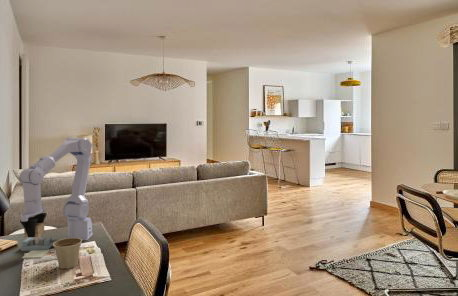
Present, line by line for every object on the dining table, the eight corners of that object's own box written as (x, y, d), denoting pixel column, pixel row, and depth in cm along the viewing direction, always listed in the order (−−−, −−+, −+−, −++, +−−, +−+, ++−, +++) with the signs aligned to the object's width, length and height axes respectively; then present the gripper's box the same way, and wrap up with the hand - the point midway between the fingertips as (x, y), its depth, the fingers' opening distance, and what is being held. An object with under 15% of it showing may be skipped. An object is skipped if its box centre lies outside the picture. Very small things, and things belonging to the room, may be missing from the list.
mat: (49, 250, 139) (49, 249, 139) (41, 257, 132) (41, 256, 132) (31, 251, 139) (31, 250, 139) (22, 258, 132) (22, 257, 132)
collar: (44, 232, 137) (43, 222, 137) (38, 237, 132) (37, 226, 132) (31, 233, 137) (30, 223, 137) (24, 237, 132) (23, 227, 132)
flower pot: (89, 262, 127) (87, 238, 127) (69, 272, 119) (68, 248, 118) (68, 259, 130) (67, 236, 130) (47, 269, 122) (46, 245, 121)
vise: (61, 243, 147) (61, 227, 147) (54, 249, 140) (53, 232, 140) (30, 244, 146) (29, 228, 146) (21, 251, 140) (19, 233, 139)
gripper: (31, 196, 141) (33, 229, 142) (11, 204, 126) (13, 241, 127) (49, 195, 141) (51, 228, 142) (31, 204, 127) (33, 240, 128)
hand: (34, 234), depth 135 cm, fingers closed on collar, 5 cm apart
